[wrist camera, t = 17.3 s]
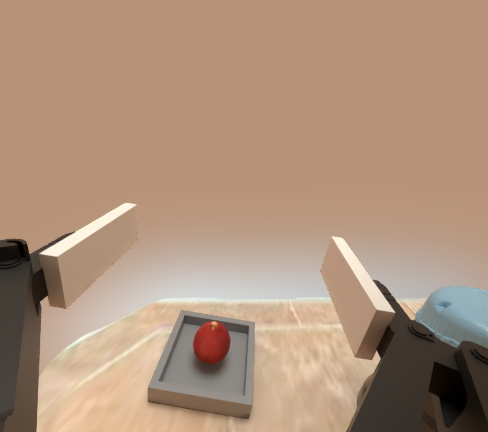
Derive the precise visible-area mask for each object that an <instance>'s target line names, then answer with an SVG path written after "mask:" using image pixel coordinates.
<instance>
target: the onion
mask: <svg viewBox="0 0 488 432" xmlns="http://www.w3.org/2000/svg"><path fill="white" fill-rule="evenodd" d="M230 343H231V338H230V335H229V332H228V329H227V328H226V327H225V326H224V325H223V324H222V323H220V322H218V321H210V322H206V323H205V324H203V325H202V326H200V328H199V329H198V330H197V332H196V334H195V337H194V341H193V349H194V354H195V355H196V356H197V357H198V359H199V360H200V361H202V362H204V363H207V364H214V363H218V362H220V361H221V360H222V359H224V358H225V357H226V355H227V353H228V351H229V349H230Z"/></svg>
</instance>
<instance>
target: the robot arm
mask: <svg viewBox="0 0 488 432" xmlns="http://www.w3.org/2000/svg"><path fill="white" fill-rule="evenodd" d="M137 241H138V231H137V205H136V204H130V203H124V204H123V205H121V206H119V207H118V208H116V209H114V210H112V211H111V212H109V213H107V214H106V215H104V216H102V217H101V218H99V219H97V220H95V221H94V222H92V223H90V224H89V225H87V226H85V227H84V228H82V229H80V230H78V231H77V232H72V233H68V234H65V235H63V236H61V237H59V238H58V239H56V240H55V241H52V242H51V243H49V244H48V245H46V246H44V247H42V248H40V249H38V250H37V251H35V252H33V253H31V254H29V250H28V246H27V243H26V241H24V240H21V239H6V240H0V432H36V428H37V403H38V379H39V354H40V329H41V304H40V301H41V300H43V299H44V298H45V297H46V296H48V300H49V304H50V306H53V307H59V308H64V309H67V308H68V307H69V306H70V305H71V304H72V303H73V302H74V301H75V300H76V299H77V298H78V297H79V296H80V295H81V294H82V293H83V292H84V291H85V290H86V289H88V287H90V286H91V285H92V284H93V283H94V282H95V281H96V280H97V279H98V278H99V277H100V276H101V275H102V274H103V273H104V272H105V271H107V270H108V269H109V268H110V267H111V266H112V265H113V264H114V263H115V262H116V261H117V260H118V259H119V258H120V257H121V256H122V255H123V254H124V253H125V252H126V251H127V250H129V249H130V248H131V247H132V246H133V245H134V244H135V243H136V242H137ZM320 271H321V274H322V276H323V279H324V281H325V284H326V286H327V289H328V291H329V294H330V296H331V299H332V301H333V304H334V306H335V309H336V311H337V314H338V316H339V319H340V322H341V324H342V327H343V329H344V332H345V334H346V337H347V339H348V342H349V344H350V347H351V349H352V352H353V354H354V357H356V358H362V359H368V360H372V359H373V357H374V355H375V353H376V351H377V352H378V354H379V356H380V358H381V360H380V362H379V364H378V366H377V368H376V370H375V371H374V373H373V374H371V375H370V376H369V377H368V378H367V379H366V380H365V382H364V384H363V386H362V388H361V390H360V392H359V395H358V400H357V410H356V412H355V414H354V416H353V418H352V421H351V423H350V425H349V427H348V429H347V431H346V432H488V291H487V290H483V289H478V288H470V287H464V286H448V287H442V288H440V289H437V290H435V291H434V292H433V293H432V294H431V295H430V296H429V297H428V299H427V300H426V302H425V303H424V305H423V306H422V308H420V309H419V310H418V311H417V313H416V317H415V320H410V318H409V317H408V316H407V314H406V313H405V312H404V310H403V309H402V308H401V306H400V305H399V304H398V302H396V300H395V298H394V297H393V296H391V293H390V292H389V291H388V289H387V288H386V287H385V286H384V285H382V284H381V283H380V282H379V281H376V280H372V279H371V277H369V275H368V274H367V272H366V270H365V269H364V268H363V266H362V265H361V263H360V262H359V260H358V259H357V258H356V256H355V255H354V253H353V252H352V251H351V249H350V248H349V246H348V245H347V243H346V242H345V241H344V239H343V238H339V237H333V236H332V237H331V239H330V242H329V245H328V248H327V252H326V255H325V258H324V261H323V264H322V268H321V270H320Z"/></svg>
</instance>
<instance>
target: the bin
mask: <svg viewBox="0 0 488 432" xmlns="http://www.w3.org/2000/svg"><path fill="white" fill-rule="evenodd" d="M210 321H218V322H220V323H222V324H223V325H224V326H225V327H226V328H227V329H228V332H229V335H230V338H231V343H230V349H229V351H228V353H227V355H226V357H225V358H224V359H222V360H221V361H220V362H218V363H214V364H207V363H204V362H202V361H200V360H199V359H198V357H197V356H196V355H195V354H194V349H193V341H194V337H195V334H196V332H197V330H198V329H199V328H200V326H202V325H203V324H205V323H206V322H210ZM254 331H255V322H249V321H243V320H238V319H232V318H226V317H220V316H214V315H208V314H202V313H196V312H190V311H184V310H181V312H180V314H179V316H178V319H177V321H176V323H175V326H174V328H173V330H172V333H171V335H170V337H169V340H168V342H167V344H166V347H165V349H164V351H163V354H162V356H161V358H160V361H159V363H158V365H157V368H156V370H155V372H154V375H153V377H152V379H151V382H150V384H149V386H148V402H153V403H159V404H165V405H171V406H177V407H183V408H188V409H194V410H200V411H206V412H212V413H218V414H223V415H229V416H235V417H241V418H247V419H249V415H250V411H251V407H252V390H253V361H254Z"/></svg>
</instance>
